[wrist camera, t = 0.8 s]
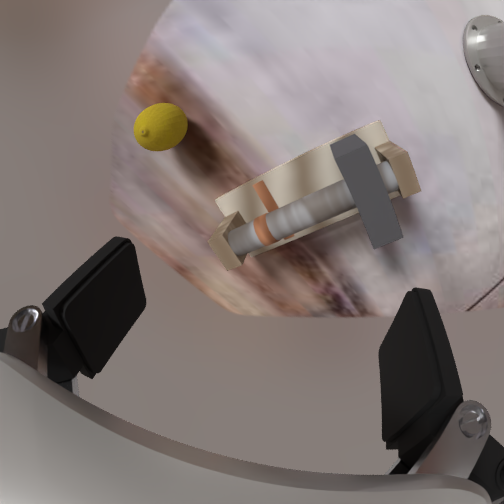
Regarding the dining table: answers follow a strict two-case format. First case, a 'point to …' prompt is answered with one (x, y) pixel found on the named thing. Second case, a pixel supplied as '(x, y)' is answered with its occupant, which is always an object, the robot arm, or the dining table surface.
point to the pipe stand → (302, 197)
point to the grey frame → (367, 189)
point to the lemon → (160, 127)
